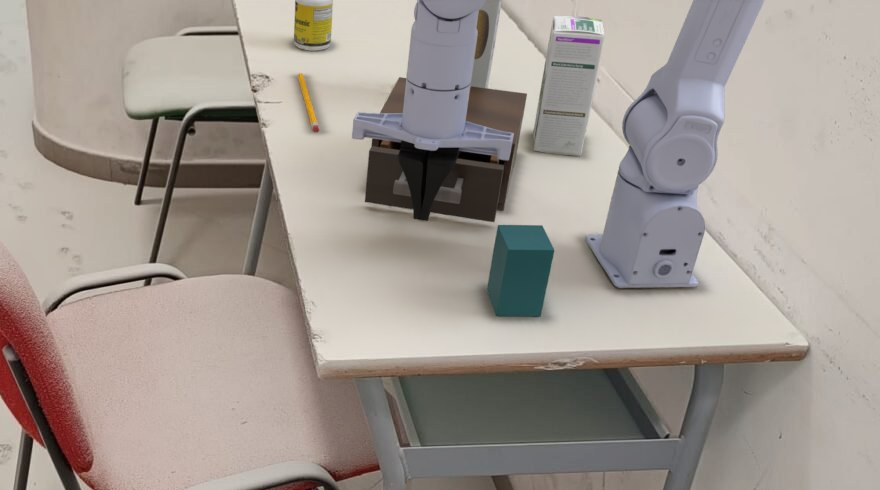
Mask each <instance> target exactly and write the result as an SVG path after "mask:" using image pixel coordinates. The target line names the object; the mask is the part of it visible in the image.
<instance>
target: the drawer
mask: <svg viewBox="0 0 880 490" xmlns="http://www.w3.org/2000/svg"><path fill="white" fill-rule="evenodd" d="M400 147H401V142H394V141H387V140H383V141H382V142H381V146H380V147H374V146H372V145H371V146H370V148H369V151H368V160H367V169H366V170H367V171H366V183H365V196H364V203H368V204H375V205H380V206H387V207H393V208H400V209H406V210H412V211H413V204H412V198H411V193H410V189H409V186H408V183H407V180H406V177H405V175H404V172H403V170H402V168H401V166H400V164H399V160H398V154H399V151H400ZM430 153H431V151H430ZM503 170H504V165H502V160H500V159H497V156H493V155H486V154H479V153H472V152H465V151H460V152H459V155H458V158H457V161H456V164H455V165H454V167H453V169H452V170H451V172H450V173H449V175H448V176H447V178H446V179H445V181H444V182H443V184H442V185H441V187H440V189H439V191H438V193H437V195H436V197H435V199H434V201H433V204H432V208H431V213H430V214H438V215H445V216H451V217H458V218H463V219H469V220H476V221H483V222H490V223H495V221H496V216H497V211H498V210H497V206H498V200H499V194H500V188H501V182H502V176H503Z"/></svg>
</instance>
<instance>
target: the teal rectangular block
mask: <svg viewBox="0 0 880 490" xmlns="http://www.w3.org/2000/svg"><path fill="white" fill-rule="evenodd" d="M494 238H495V239H494V245H493V251H492V256H491V262H490V268H489V274H488V280H487V285H486V291H487V295H488V297H489V300H490V303H491V305H492V309H493V311H494V314H495V316H496V317H542V311H543V307H544V303H545V297H546V293H547V288H548V284H549V279H550V274H551V269H552V264H553V260H554V256H555V255H554V254H555V247H554V246H553V244H552V242H551V240H550V238H549V236H548V234H547V232H546V230H545V228H544V226H543V224H542V225H541V224H498V225H497V227H496V233H495V237H494Z"/></svg>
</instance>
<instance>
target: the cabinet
mask: <svg viewBox="0 0 880 490" xmlns="http://www.w3.org/2000/svg"><path fill="white" fill-rule="evenodd" d="M406 78H407V77H401V76H399V77H398V79H397V81H396V82H395V84H394V86H393V87H392V90H391V91H390V93H389V94H388V97H387V99H386V100H385V103H384V105H383V106H382V107H381V110H380V112H379V113H403V107H404V97H405V88H406ZM527 97H528V93H527V92H517V91H511V90H510V91H509V90H502V89H496V88H495V89H494V88H489V87H488V88H480V87H472V86H470V93H469V100H468V107H467V114H466V121H467V122H471V123H474V124H478V125H481V126H485V127H488V128H492V129H496V130H500V131H504V132H511V133H514V136H513V142H512V148H511V153H510V157H509V160H508V161H507V160H502V165H504V170H503V176H502V182H501V188H500V194H499V200H498V206H497V211H500V212H501V211H502V212H504V211H505V206H506V202H507V198H508V193H509V188H510V185H511V181H512V176H513V171H514V167H515V163H516V158H517V154H518V147H519V143H520V137H521V131H522V125H523V120H524V115H525V109H526V104H527V103H526V102H527V99H528V98H527ZM382 141H383V140H380V139H373V138H371V146H374V147H380V146H381V142H382Z"/></svg>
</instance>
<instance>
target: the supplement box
mask: <svg viewBox="0 0 880 490" xmlns="http://www.w3.org/2000/svg"><path fill="white" fill-rule="evenodd" d="M502 2H503V0H486V2H485V4H484V5H483V6H482V8H481V9H479V13H478V20H477V27H476V28H477V30H478V36H477V43H476V50H475V57H474V64H473V71H472V78H471V86H472V87H480V88H488V89H489V83H490V77H491V72H492V71H491V70H492V65H493V59H494V52H495V47H496V40H497V34H498V29H499V28H498V27H499V22H500V15H501V8H502Z"/></svg>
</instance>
